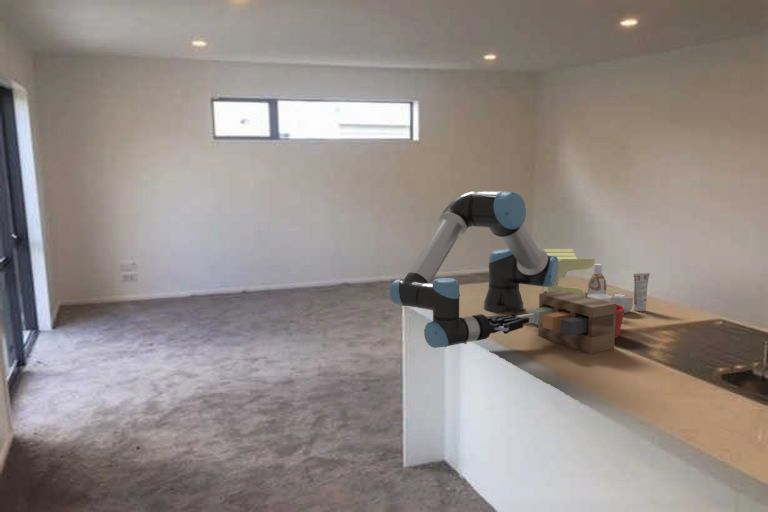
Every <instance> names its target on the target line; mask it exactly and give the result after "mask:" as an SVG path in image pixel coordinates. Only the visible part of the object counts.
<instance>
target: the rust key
mask: <svg viewBox="0 0 768 512" xmlns="http://www.w3.org/2000/svg"><path fill="white" fill-rule="evenodd" d="M570 314H571V312H570V311H567V310H566V311H560V312H555V313H549V314H543V327H544V328H547V329H550V330H556V329H561V319H566V318H570Z"/></svg>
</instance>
